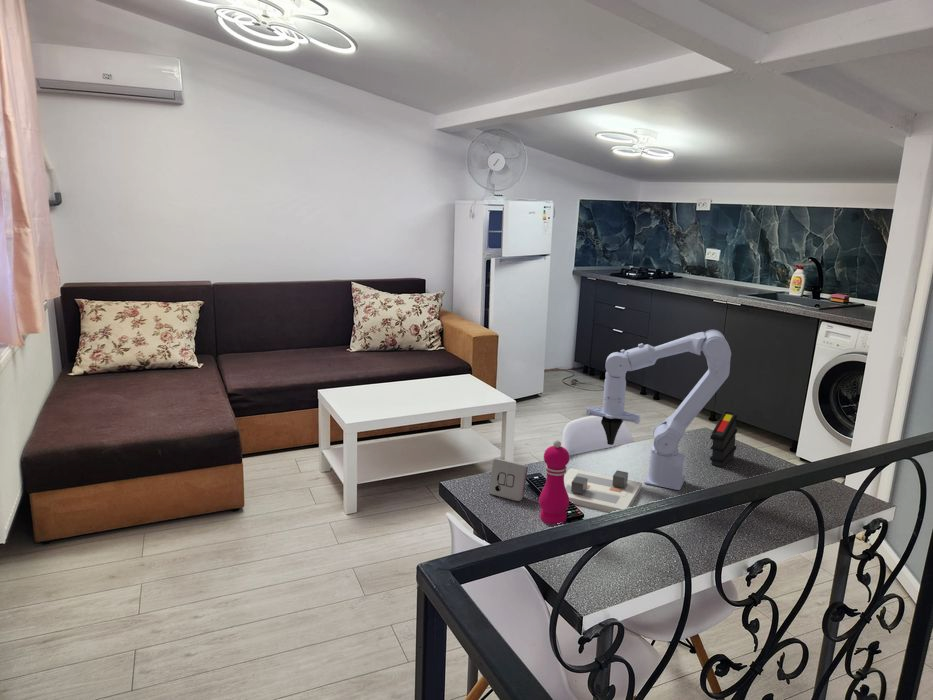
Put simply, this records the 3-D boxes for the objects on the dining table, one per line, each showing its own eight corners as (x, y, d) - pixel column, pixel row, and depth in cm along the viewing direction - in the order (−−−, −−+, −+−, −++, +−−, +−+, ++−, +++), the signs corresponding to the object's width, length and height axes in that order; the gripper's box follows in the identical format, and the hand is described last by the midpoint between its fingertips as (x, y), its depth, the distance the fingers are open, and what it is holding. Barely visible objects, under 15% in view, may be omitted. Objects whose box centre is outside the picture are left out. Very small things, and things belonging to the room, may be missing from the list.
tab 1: (587, 488, 171) (587, 478, 171) (582, 494, 168) (583, 484, 167) (575, 486, 173) (576, 476, 172) (571, 491, 169) (571, 481, 168)
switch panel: (641, 488, 177) (641, 482, 176) (625, 515, 161) (625, 509, 161) (569, 473, 185) (570, 467, 185) (547, 497, 170) (548, 491, 169)
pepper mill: (532, 514, 161) (536, 437, 156) (558, 509, 163) (562, 433, 159) (547, 528, 154) (551, 447, 150) (574, 522, 157) (578, 443, 152)
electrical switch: (487, 494, 171) (490, 460, 170) (496, 488, 176) (499, 455, 174) (520, 503, 167) (523, 467, 165) (528, 497, 171) (531, 462, 170)
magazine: (739, 449, 201) (737, 412, 193) (723, 478, 193) (720, 441, 186) (726, 446, 203) (724, 409, 196) (710, 475, 196) (707, 437, 188)
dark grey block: (627, 482, 175) (628, 472, 175) (623, 487, 172) (624, 478, 171) (616, 480, 177) (616, 470, 176) (612, 485, 173) (613, 475, 173)
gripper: (584, 396, 179) (581, 443, 182) (637, 404, 173) (633, 453, 176) (591, 389, 185) (588, 435, 188) (643, 397, 179) (639, 444, 182)
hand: (610, 443), depth 182 cm, fingers closed
